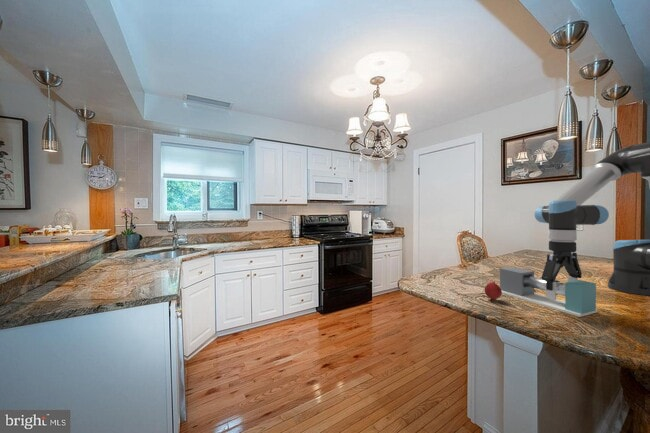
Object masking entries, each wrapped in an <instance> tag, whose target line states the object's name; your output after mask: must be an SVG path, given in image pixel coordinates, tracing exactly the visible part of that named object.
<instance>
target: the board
mask: <svg viewBox="0 0 650 433" xmlns="http://www.w3.org/2000/svg"><path fill="white" fill-rule="evenodd" d="M501 291H502V290H501ZM502 294H503V295H506V296H510V297H513V298H516V299H519V300H522V301H526V302H529V303H532V304H536V305H539V306H543V307H545V308H549V309H553V310H556V311H559V312H562V313H564V314H565V313H566V314H569V315H572V316H575V317H580V318H581V317H584V316H588V315H592V314H595V313H596V314H597V313H598V312H599V310H598V309H596V310H595V311H592V312H588V313H584V314H580V313H576V312H573V311H570V310H566V309H565V300H561V299H557V298H556V300H553V299H550V298H546V295H544V294H539V293H535V292H534V294H531V295H526V296H519V295H516V294H512V293H509V292H505V291H502Z"/></svg>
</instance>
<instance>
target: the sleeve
mask: <svg viewBox="0 0 650 433" xmlns="http://www.w3.org/2000/svg"><path fill="white" fill-rule="evenodd" d="M524 275H528V276H532V277H535V271H534V270H529V269H523V268H519V267H514V266H510V267H509V266H508V267H502V268H499V287H500V289H501V290H502V291H505V292H509V293H512V294H516V295H519V296H526V295H531V294H534V293H535V288H531V287H527V286H524Z"/></svg>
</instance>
